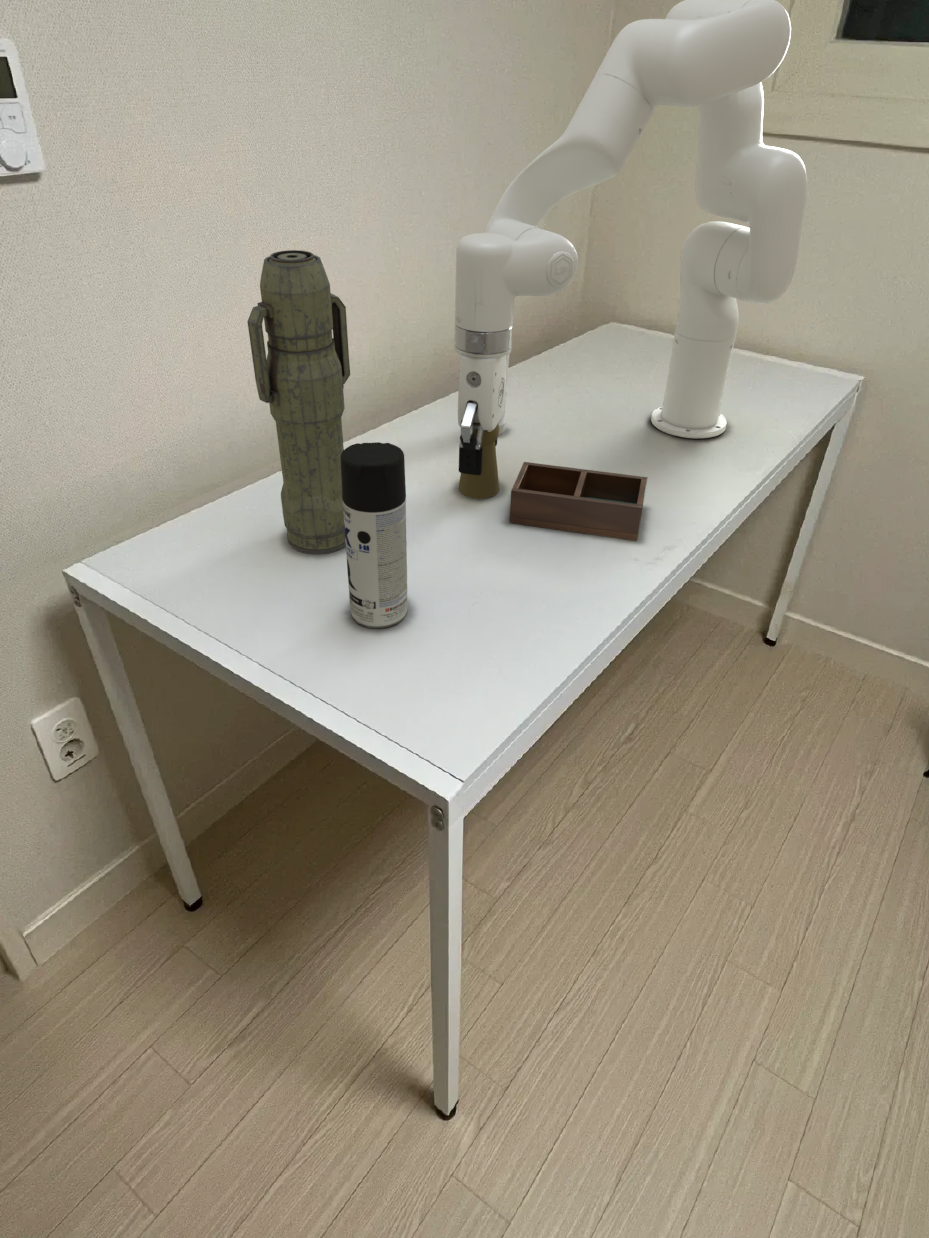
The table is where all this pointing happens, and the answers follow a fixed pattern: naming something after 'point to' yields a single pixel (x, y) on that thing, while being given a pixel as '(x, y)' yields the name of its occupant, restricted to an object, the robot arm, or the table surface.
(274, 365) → the thermos
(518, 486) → the caddy
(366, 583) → the spray can
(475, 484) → the cork
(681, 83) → the robot arm
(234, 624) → the table surface
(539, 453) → the table surface
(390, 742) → the table surface
